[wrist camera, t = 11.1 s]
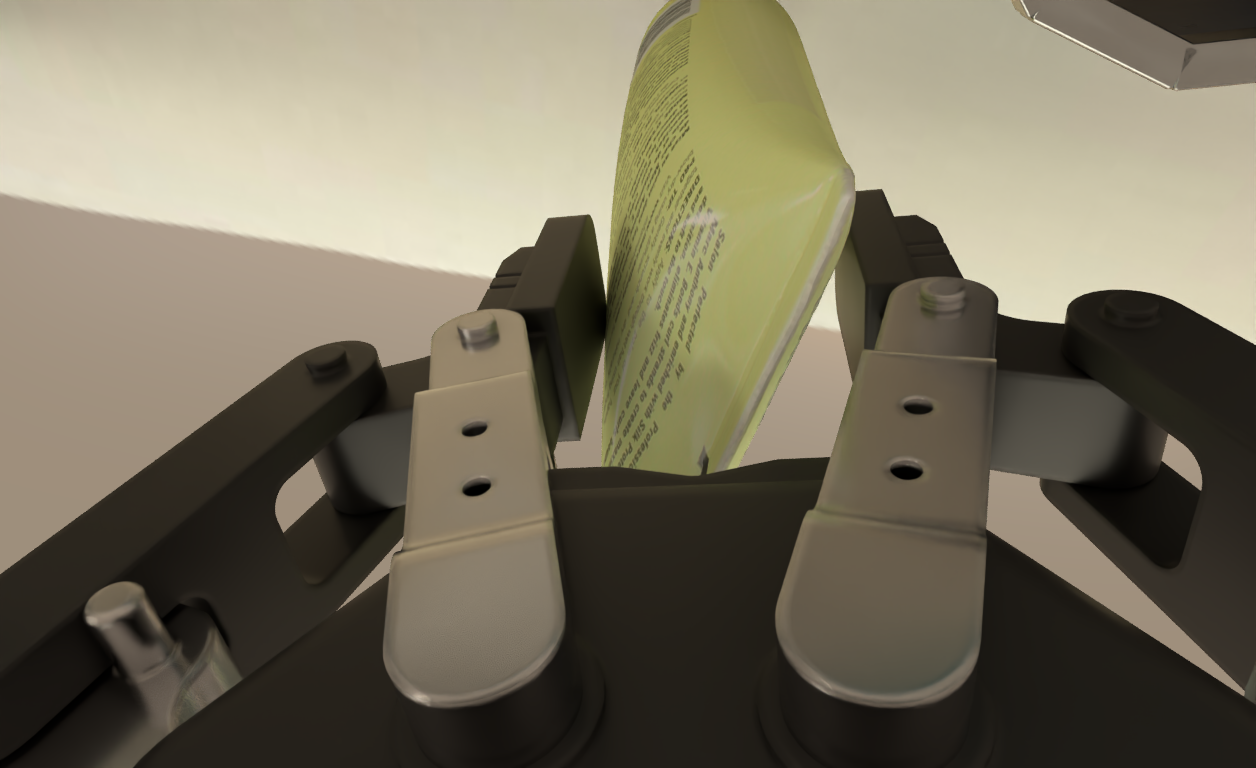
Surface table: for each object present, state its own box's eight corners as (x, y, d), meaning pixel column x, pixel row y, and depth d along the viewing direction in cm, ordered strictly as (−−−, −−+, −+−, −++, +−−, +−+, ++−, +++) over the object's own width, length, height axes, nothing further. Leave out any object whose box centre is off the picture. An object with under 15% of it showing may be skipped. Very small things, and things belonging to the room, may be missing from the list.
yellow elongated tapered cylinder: (833, 131, 26) (1001, 622, 10) (681, 192, 28) (610, 703, 12) (770, -57, 24) (859, 188, 7) (606, 21, 25) (379, 368, 9)
